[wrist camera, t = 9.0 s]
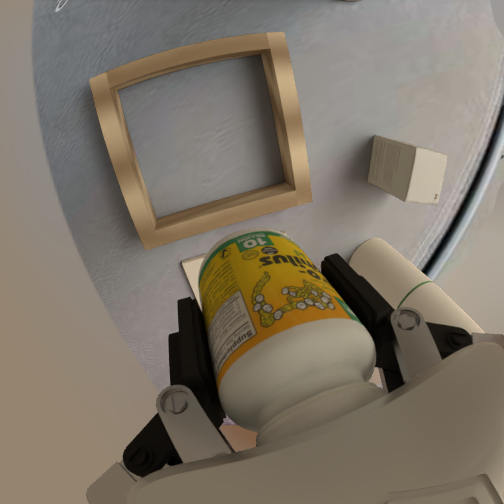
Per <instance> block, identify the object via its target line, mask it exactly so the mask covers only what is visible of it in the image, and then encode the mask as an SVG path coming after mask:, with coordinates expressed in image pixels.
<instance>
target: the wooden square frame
mask: <svg viewBox="0 0 504 504" xmlns="http://www.w3.org/2000/svg"><path fill="white" fill-rule="evenodd" d="M260 54H261V57H262V62H263V66H264V71H265V76H266V80H267V85H268V90H269V95H270V100H271V105H272V110H273V115H274V120H275V126H276V131H277V137H278V142H279V148H280V154H281V160H282V166H283V172H284V178H285V182H284V183H280V184H276V185H272V186H268V187H264V188H261V189H257V190H253V191H249V192H245V193H242V194H238V195H234V196H231V197H227V198H224V199H220V200H217V201H213V202H210V203H206V204H203V205H200V206H196V207H193V208H190V209H186V210H183V211H180V212H177V213H174V214H171V215H167V216H164V217H161V218H158V219H157V217H156V214H155V212H154V209H153V206H152V203H151V200H150V198H149V195H148V192H147V189H146V186H145V183H144V180H143V177H142V174H141V171H140V168H139V165H138V161H137V158H136V155H135V152H134V148H133V145H132V142H131V138H130V135H129V131H128V128H127V124H126V121H125V117H124V113H123V109H122V106H121V102H120V98H119V94H118V90H120V89H123V88H126V87H128V86H131V85H134V84H136V83H139V82H142V81H145V80H148V79H151V78H154V77H157V76H160V75H164V74H167V73H171V72H174V71H178V70H181V69H185V68H189V67H193V66H198V65H202V64H206V63H211V62H216V61H221V60H227V59H232V58H239V57H245V56H252V55H260ZM89 81H90V86H91V90H92V95H93V99H94V103H95V107H96V111H97V114H98V118H99V122H100V125H101V129H102V133H103V136H104V139H105V143H106V146H107V149H108V152H109V156H110V159H111V162H112V165H113V168H114V171H115V174H116V177H117V180H118V182H119V185H120V188H121V191H122V193H123V196H124V199H125V202H126V204H127V207H128V209H129V212H130V215H131V217H132V220H133V222H134V225H135V227H136V230H137V232H138V234H139V237H140V239H141V242H142V244H143V246H144V249H145V250H148V249H151V248H154V247H158V246H161V245H164V244H167V243H170V242H173V241H177V240H180V239H183V238H186V237H190V236H193V235H196V234H199V233H203V232H206V231H210V230H213V229H216V228H220V227H223V226H226V225H230V224H233V223H237V222H240V221H244V220H247V219H251V218H254V217H258V216H261V215H265V214H269V213H272V212H276V211H280V210H283V209H287V208H291V207H294V206H298V205H302V204H306V203H310V202H313V201H312V192H311V183H310V175H309V167H308V160H307V152H306V145H305V139H304V132H303V126H302V120H301V114H300V108H299V102H298V97H297V91H296V86H295V81H294V76H293V71H292V66H291V61H290V56H289V52H288V47H287V43H286V39H285V34H284V32H271V33H259V34H249V35H241V36H234V37H227V38H221V39H215V40H210V41H205V42H200V43H195V44H191V45H187V46H183V47H179V48H175V49H171V50H167V51H164V52H161V53H157V54H154V55H151V56H148V57H145V58H142V59H139V60H136V61H133V62H130V63H127V64H125V65H122V66H120V67H117V68H115V69H112V70H110V71H107V72H105V73H103V74H100V75H98V76H96V77H94V78H91V79H89Z"/></svg>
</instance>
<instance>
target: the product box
mask: <svg viewBox="0 0 504 504" xmlns="http://www.w3.org/2000/svg"><path fill="white" fill-rule="evenodd" d="M446 163H447V156H446V155H444V154H441V153H438V152H435V151H432V150H429V149H426V148H422V147H419V146H415V145H412V144H409V143H404V142H400V141H396V140H392V139H388V138H384V137H381V136H377V135H375V136H374V140H373V148H372V156H371V163H370V169H369V175H368V182H369V183H371V184H373V185H375V186H377V187H379V188H381V189H383V190H384V191H386V192H388V193H390V194H392V195H393V196H395V197H397V198H399V199H401V200H402V201H404V202H414V203H422V204H425V203H426V204H438V200H439V196H440V192H441V187H442V183H443V178H444V173H445V168H446Z"/></svg>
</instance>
